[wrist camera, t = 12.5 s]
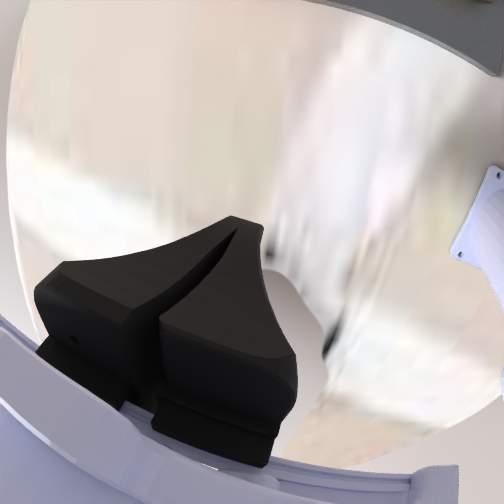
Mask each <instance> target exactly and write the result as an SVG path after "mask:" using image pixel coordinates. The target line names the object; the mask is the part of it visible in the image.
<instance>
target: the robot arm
mask: <svg viewBox="0 0 504 504" xmlns="http://www.w3.org/2000/svg"><path fill="white" fill-rule="evenodd" d="M497 173H500V175H499V177H497ZM263 231H264V228H263V226H262V225H261V224H257V223H254V222H251V221H248V220H244V219H241V218H238V217H234V216H229V217H226V218H224V219H222V220H220V221H218V222H216V223H214V224H212V225H210V226H208V227H206V228H204V229H202V230H200V231H198V232H196V233H193V234H191V235H189V236H186V237H184V238H182V239H179V240H177V241H174V242H172V243H169V244H166V245H163V246H160V247H156V248H153V249H150V250H146V251H141V252H137V253H133V254H128V255H124V256H118V257H112V258H104V259H96V260H81V261H63V262H62V263H61V264H59V265H58V266H57V267H56V268H55V269H54V270H53V271H52V272H51V273H49V274H48V275H47V276H46V277H45V278H44V279H43V280H42V281H41V282H40V283H39V284H38V285H37V286H36V287H35V289H34V301H35V304H36V307H37V310H38V312H39V314H40V317H41V319H42V321H43V323H44V325H45V328H46V330H47V332H48V334H49V336H48V337H47V338H46V339H45V341H44V342H43V343H42V344H41V345H40V346H39V345H37V344H36V343H35V342H33V341H32V340H31V339H29V338H28V337H27V336H26V335H24V334H23V333H22V332H21V331H19V330H18V329H17V328H16V327H14V326H13V325H12V324H11V323H10V322H9V321H7V320H6V319H5V318H4V317H3V316H2V315H1V314H0V504H458V486H459V484H458V482H459V480H458V479H459V478H458V477H459V469H458V465H439V466H438V465H437V466H429V467H425V468H422V469H420V470H417V471H416V472H414V473H413V474H389V473H373V472H372V473H371V472H361V471H352V470H343V469H336V468H329V467H323V466H317V465H311V464H306V463H301V462H296V461H291V460H287V459H282V458H278V457H273V456H270V455H271V451H272V447H273V444H274V440H275V438H276V437H277V436H278V433H279V429H280V425H281V422H282V421H283V420H284V419H285V417H286V416H287V415H288V413H289V412H290V411H291V410H292V408H293V407H294V404H295V402H296V398H297V387H298V375H297V363H296V354H295V353H294V351H293V349H292V348H291V346H290V345H289V343H288V341H287V339H286V338H285V336H284V334H283V332H282V330H281V328H280V326H279V324H278V322H277V320H276V317H275V314H274V312H273V309H272V307H271V304H270V302H269V299H268V295H267V292H266V288H265V284H264V280H263V275H262V268H261V259H260V243H261V239H262V235H263ZM459 252H462V253H461V254H460V255H458V254H459ZM450 255H451V256H452V257H453V258H455V259H457V260H460V261H462V262H465V263H467V264H469V265H471V266H474V267H476V268H478V269H481V270H482V271H483V273H484V275H485V277H486V279H487V280H488V282H489V284H490V286H491V288H492V290H493V292H494V294H495V296H496V298H497V300H498V302H499V304H500V306H501V308H502V310H503V312H504V171H503V170H501V169H500V168H498V167H497V166H495V165H491V166H489V168H488V170H487V173H486V175H485V178H484V180H483V182H482V185H481V187H480V189H479V192H478V194H477V196H476V199H475V201H474V203H473V205H472V207H471V209H470V211H469V214H468V216H467V218H466V220H465V222H464V224H463V226H462V228H461V230H460V231H459V233H458V235H457V237H456V239H455V241H454V243H453V245H452V246H451V248H450ZM501 389H502V395H503V400H504V366H503V369H502V373H501ZM196 461H197V462H196ZM201 463H202V464H201ZM203 464H205V465H208V466H211V467H214V468H217V469H219V470H215V469H213V468H210V467H208V466H205V465H203Z"/></svg>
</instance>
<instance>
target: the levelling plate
mask: <svg viewBox="0 0 504 504" xmlns="http://www.w3.org/2000/svg"><path fill="white" fill-rule="evenodd" d="M304 1H309V2H314V3H319V4H323V5H328V6H332V7H336V8H340V9H343V10H347V11H351V12H354V13H357V14H361V15H364V16H367V17H370V18H373V19H376V20H379V21H382V22H385V23H387V24H390V25H393V26H395V27H398V28H400V29H403V30H405V31H408V32H410V33H412V34H415V35H417V36H419V37H421V38H424V39H426V40H428V41H430V42H432V43H434V44H436V45H438V46H440V47H442V48H444V49H446V50H448V51H450V52H452V53H454V54H455V55H457V56H459V57H461V58H462V59H464V60H466V61H468V62H469V63H471V64H473V65H474V66H476V67H478V68H479V69H481V70H482V71H484V72H485V73H487V74H488V75H490V76H499V71H500V66H501V61H502V55H503V49H504V0H497V1H495V2H485V1H481V0H304Z"/></svg>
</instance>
